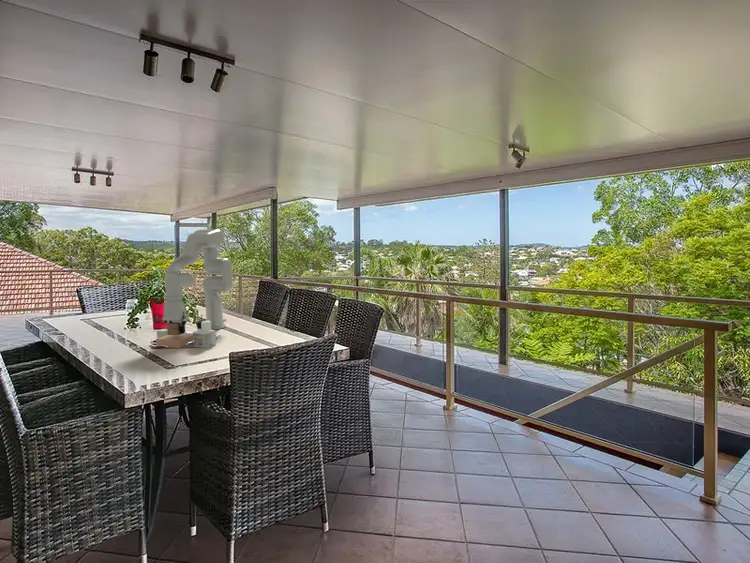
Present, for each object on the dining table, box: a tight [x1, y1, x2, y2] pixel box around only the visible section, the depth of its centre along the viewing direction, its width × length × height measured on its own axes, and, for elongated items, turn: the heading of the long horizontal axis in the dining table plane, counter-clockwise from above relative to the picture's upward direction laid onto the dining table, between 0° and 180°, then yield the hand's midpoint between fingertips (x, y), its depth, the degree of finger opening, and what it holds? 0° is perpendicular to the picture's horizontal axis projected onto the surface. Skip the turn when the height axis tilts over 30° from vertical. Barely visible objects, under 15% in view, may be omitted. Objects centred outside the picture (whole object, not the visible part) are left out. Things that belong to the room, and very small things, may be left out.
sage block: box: [156, 328, 168, 339], centre depth 241 cm, size 5×5×5 cm
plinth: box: [155, 332, 193, 349], centre depth 228 cm, size 14×14×4 cm
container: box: [192, 319, 217, 349], centre depth 223 cm, size 8×8×13 cm
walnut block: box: [166, 321, 186, 335], centre depth 228 cm, size 6×6×6 cm
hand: (176, 332), depth 228 cm, fingers closed on walnut block, 5 cm apart
